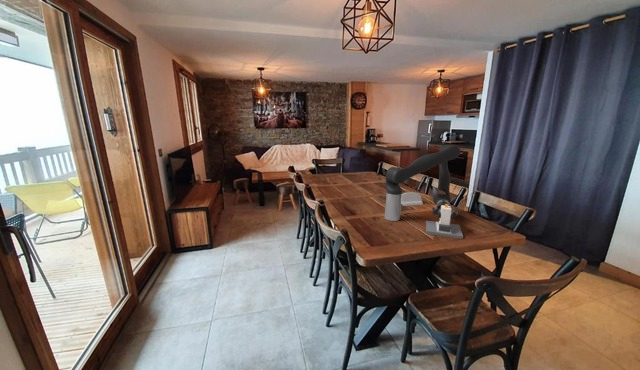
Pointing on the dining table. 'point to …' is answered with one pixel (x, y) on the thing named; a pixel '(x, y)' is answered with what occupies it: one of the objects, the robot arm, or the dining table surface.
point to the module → (445, 214)
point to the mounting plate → (434, 229)
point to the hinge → (411, 199)
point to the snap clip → (444, 227)
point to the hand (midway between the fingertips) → (445, 217)
